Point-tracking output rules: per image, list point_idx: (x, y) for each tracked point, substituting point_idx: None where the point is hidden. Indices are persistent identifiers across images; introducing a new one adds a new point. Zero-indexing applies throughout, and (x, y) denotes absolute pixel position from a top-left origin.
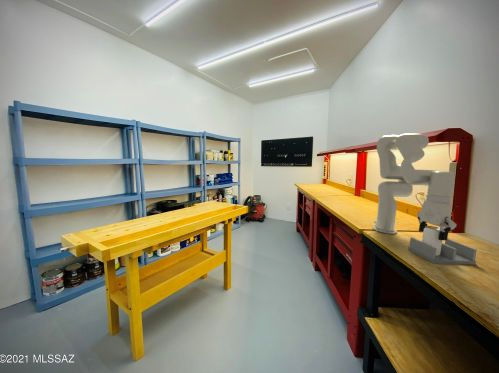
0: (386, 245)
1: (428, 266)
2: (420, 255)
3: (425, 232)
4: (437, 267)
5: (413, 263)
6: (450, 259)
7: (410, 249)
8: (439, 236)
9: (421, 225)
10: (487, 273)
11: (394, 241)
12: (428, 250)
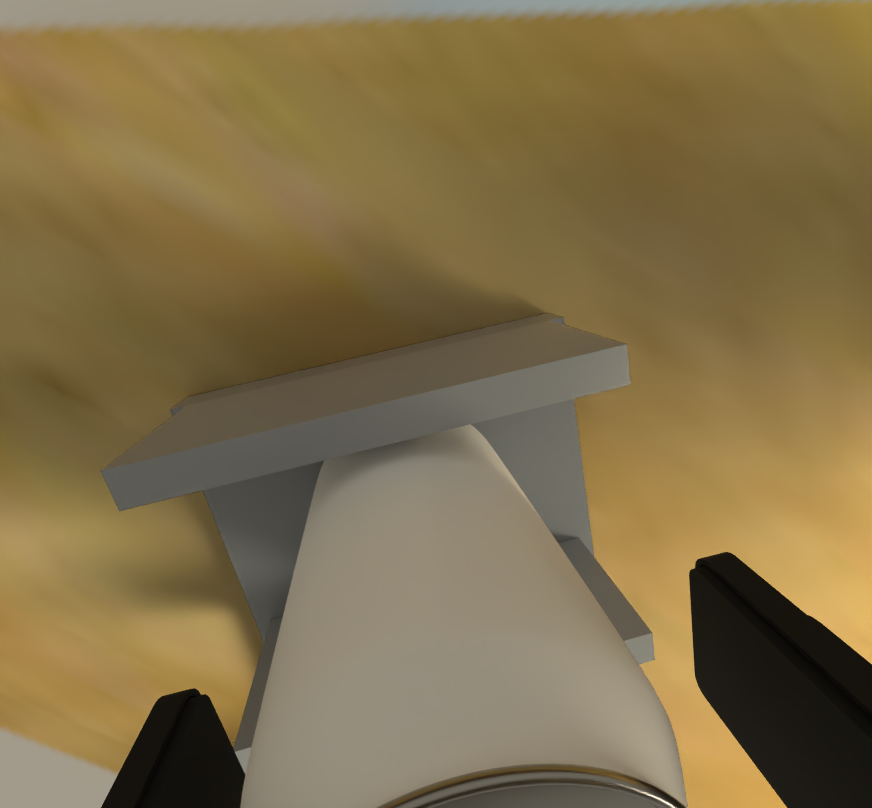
0: (640, 47)
1: (50, 283)
2: (360, 357)
3: (431, 591)
4: (74, 382)
5: (57, 114)
6: (276, 607)
7: (517, 323)
8: (138, 775)
9: (845, 724)
10: None
11: (796, 273)
12: (231, 415)
